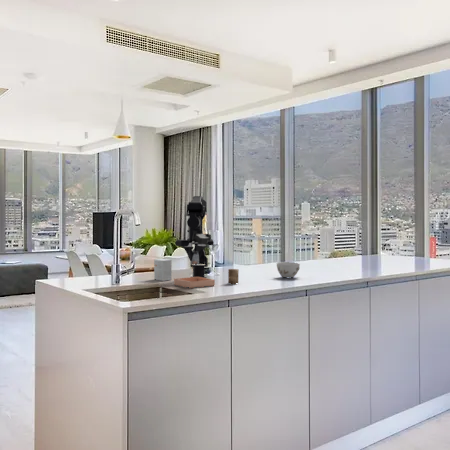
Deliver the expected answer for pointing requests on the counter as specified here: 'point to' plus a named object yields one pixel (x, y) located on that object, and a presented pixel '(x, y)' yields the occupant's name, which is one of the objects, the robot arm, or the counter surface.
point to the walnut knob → (233, 276)
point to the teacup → (288, 269)
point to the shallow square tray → (194, 282)
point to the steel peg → (195, 257)
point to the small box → (162, 269)
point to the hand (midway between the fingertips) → (194, 260)
